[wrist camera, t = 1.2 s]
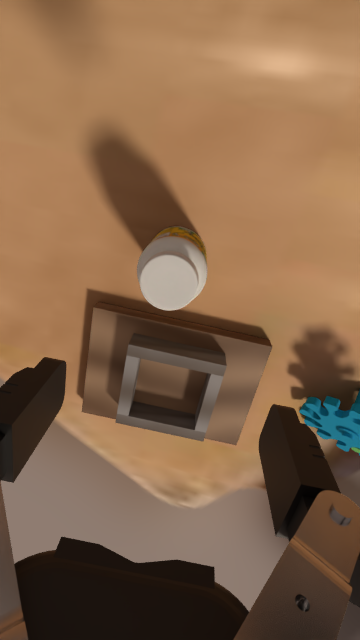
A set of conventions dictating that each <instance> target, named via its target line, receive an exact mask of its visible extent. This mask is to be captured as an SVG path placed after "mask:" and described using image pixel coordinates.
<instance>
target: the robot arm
mask: <svg viewBox="0 0 360 640" xmlns="http://www.w3.org/2000/svg"><path fill="white" fill-rule="evenodd" d="M65 380H66V362H65V361H62V360H57V359H52V358H48V357H44V358H43V359H42V360H41V361H40V362H39V363H38V365H37V366H36V367H35V368H29V367H27V368H25V369H23V370H21V371H19V372H17V373H14V374H13V375H12V376H11V377H10V378H9V379H8V380H7V381H6V382H5V384H3V386H1V388H0V481H1V480H4V481H8V482H14V481H15V479H16V478H17V476H18V475H19V473H20V472H21V470H22V468H23V467H24V465H25V464H26V462H27V461H28V459H29V457H30V456H31V454H32V453H33V451H34V450H35V448H36V447H37V445H38V443H39V442H40V440H41V439H42V437H43V435H44V434H45V432H46V431H47V429H48V428H49V426H50V425H51V423H52V421H53V420H54V418H55V417H56V415H57V414H58V412H59V410H60V409H61V406H62V404H63V400H64V396H65ZM259 453H260V459H261V464H262V469H263V474H264V479H265V484H266V489H267V494H268V499H269V504H270V509H271V514H272V519H273V524H274V529H275V534H276V536H278V537H283V538H287V539H289V544H288V546H287V548H286V550H285V551H284V553H283V555H282V556H281V558H280V560H279V561H278V563H277V565H276V567H275V568H274V570H273V572H272V574H271V576H270V577H269V579H268V581H267V582H266V584H265V586H264V587H263V589H262V591H261V593H260V594H259V596H258V598H257V600H256V601H255V603H254V605H253V607H252V608H251V610H250V612H249V611H248V610H247V609H246V608H245V606H244V605H243V604H242V603H241V602H240V601H239V600H238V599H237V598H236V597H235V596H234V595H233V594H232V593H231V592H230V591H228V590H227V589H225V588H224V587H222V586H221V585H220V584H218V583H216V582H215V581H214V567H210V566H206V565H201V564H196V563H191V562H186V561H181V560H168V561H158V562H146V563H134V562H132V561H130V560H128V559H126V558H124V557H123V556H121V555H119V554H117V553H115V552H113V551H111V550H109V549H107V548H105V547H103V546H102V545H100V544H95V543H90V542H85V541H80V540H75V539H70V538H65V537H61V539H60V541H59V544H58V546H57V549H56V550H52V551H46V552H42V553H38V554H35V555H32V556H29V557H27V558H25V559H23V560H21V561H18V562H17V563H15V564H14V560H13V554H12V548H11V542H10V536H9V530H8V524H7V518H6V512H5V506H4V500H3V494H2V488H1V482H0V640H336V639H337V636H338V633H339V630H340V627H341V623H342V621H343V617H344V614H345V611H346V608H347V605H348V602H349V601H350V602H351V603H353V604H355V605H357V606H358V607H360V508H359V507H358V506H357V505H356V504H355V503H354V502H353V501H352V500H350V499H349V498H348V497H346V496H344V495H343V494H341V492H340V490H339V488H338V486H337V483H336V481H335V479H334V476H333V474H332V472H331V469H330V467H329V465H328V462H327V460H326V459H325V455H324V453H323V451H322V449H321V446H320V444H319V442H318V439H317V437H316V435H315V434H314V433H313V432H312V431H311V429H310V428H309V427H308V426H307V425H306V424H302V423H300V421H299V419H298V416H297V414H296V411H295V409H294V408H291V407H286V406H281V405H276V404H273V405H272V406H271V408H270V411H269V414H268V416H267V419H266V421H265V424H264V427H263V429H262V432H261V435H260V439H259Z"/></svg>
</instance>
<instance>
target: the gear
mask: <svg viewBox="0 0 360 640" xmlns="http://www.w3.org/2000/svg"><path fill="white" fill-rule="evenodd" d="M340 403H341V402H340V400H339V399H336V398H333V397H330V396H326V399H325V401H324V403H323V405H324V406H325V407H326V408H327V409H326V408H324V407H322V406H321V401H320V400H319V399H318V398H316V397H308V399H307V401H306V403H304V404H303V405H302V407H301V410H300V413H301V414H303V415H305V416H306V417H305V420H304V422H305V424H306V425H308V426H311V427H316V428H318V430H317V434H318V435H319V436H320V437H321V438H323V439H336V440H338V441H337V444H336V446H338V447H339V448H341V449H342V450H344V451H349V449H350V448H351V447H352V450H354V451H355V452H358V453H359V455H360V390H359V393H358V395H357V398H356V400H355V403H354V404H352V407H351V409H350V410H347V411H342V410H340V409H338V408H339V405H340Z"/></svg>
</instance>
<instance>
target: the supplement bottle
mask: <svg viewBox="0 0 360 640" xmlns="http://www.w3.org/2000/svg"><path fill="white" fill-rule="evenodd" d="M137 276H138V280H139V283H140V288H141V291H142V294H143V296H144V297H145V298H146V300H147V301H148V302H149V303H150V304H151V305H153V306H155V307H156V308H159V309H162V310H168V311H171V310H177V309H180V308H183V307H184V306H186V305H187V304H189V303H190V302H191V301H192V300H193V299H194V298H196V297H197V296H198V295H199V293H200V292H201V291H202V289H203V287H204V285H205V282H206V279H207V259H206V249H205V246H204V243H203V241H202V240H201V238H200V237H199V236H198V235H197V234H196V233H195V232H194V231H192V230H190V229H187V228H184V227H180V226H173V227H168V228H166V229H164V230H162V231H161V232H159V233H158V234H157V235H156V236H155V237H154V239H153V240H152V241H151V242H150V243H149V244H148V246H147V247H146V248H145V249H144V251H143V252H142V254H141V256H140V258H139V261H138V265H137Z"/></svg>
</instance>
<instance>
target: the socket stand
mask: <svg viewBox="0 0 360 640" xmlns="http://www.w3.org/2000/svg"><path fill="white" fill-rule="evenodd" d="M271 349H272V345H271V343H270V340H268V339H264V338H259V337H255V336H250V335H246V334H241V333H237V332H232V331H228V330H223V329H219V328H214V327H210V326H205V325H201V324H196V323H192V322H187V321H183V320H178V319H174V318H169V317H164V316H160V315H155V314H151V313H146V312H142V311H137V310H133V309H128V308H124V307H119V306H115V305H110V304H106V303H101V302H98V303H97V304H96V305H95V306H94V307H93V316H92V325H91V334H90V343H89V352H88V360H87V369H86V378H85V387H84V396H83V405H82V412H84V413H89V414H94V415H98V416H103V417H108V418H112V419H116V422H115V423H120V424H124V425H129V426H134V427H138V428H143V429H148V430H152V431H157V432H162V433H166V434H171V435H176V436H180V437H185V438H190V439H194V440H199V441H204V438H205V439H210V440H215V441H219V442H224V443H229V444H233V445H236V444H237V442H238V439H239V436H240V434H241V431H242V428H243V425H244V423H245V420H246V417H247V415H248V412H249V409H250V406H251V404H252V401H253V398H254V395H255V393H256V390H257V387H258V385H259V382H260V379H261V376H262V374H263V371H264V368H265V366H266V363H267V360H268V357H269V355H270V352H271Z"/></svg>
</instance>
